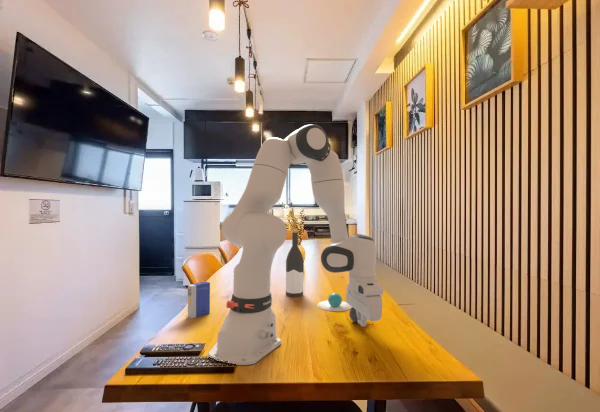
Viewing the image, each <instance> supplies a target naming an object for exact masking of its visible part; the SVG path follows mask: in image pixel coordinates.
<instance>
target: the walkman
mask: <svg viewBox="0 0 600 412" xmlns="http://www.w3.org/2000/svg"><path fill="white" fill-rule="evenodd" d="M210 306H211V283H210V282H209V281H206V280H202V281H201V282H196V283H191V284H188V285H187V317H188V318H189V319H195V318H198V317H201V316H204V315H208V314H210V313H211V311H210V309H211V308H210Z"/></svg>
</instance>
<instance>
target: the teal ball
mask: <svg viewBox="0 0 600 412" xmlns="http://www.w3.org/2000/svg"><path fill="white" fill-rule="evenodd" d="M327 300H328V302H329V304H330V305H331V306H332V307H338V306H340V305H341V303H342V301H343V298H342V296H341V295H340V294H339V293H337V292H332V293H331V294H329V296H328V298H327Z"/></svg>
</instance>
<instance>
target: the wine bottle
mask: <svg viewBox="0 0 600 412" xmlns="http://www.w3.org/2000/svg"><path fill="white" fill-rule="evenodd" d="M298 236H299V233H298V229H297V228H296V229H295V228H293V229H292V240H291V242H292V243H291V247H290V249H289V251H288V254H287V256H286V260H285V294H286V296H287V297H292V298H296V297H297V298H298V297H302V296H303V295H304V264H305V263H304V257H303V254H302V251H301V250H300V247H299V245H298V243H299V242H298V240H299V239H298V238H299V237H298Z"/></svg>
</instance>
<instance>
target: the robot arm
mask: <svg viewBox="0 0 600 412" xmlns="http://www.w3.org/2000/svg"><path fill="white" fill-rule="evenodd" d="M302 164H305V165H306V167H307V168H308V170H309V172H310V181H311V190H312V195H313V198H314V201H315V203H316V205H317V206H319V207H320V209H321V210H322V211H323V212H324V213H325V215H326V216H327V220H328V226H329V231H330V237H331V240H330V242H331V243H330V245H327V246H326V247H325V248H324V249H323V250H322V252H321V255H320V262H321V265H322V267H323V268H324V269H325V270H326V271H328V272H330V273H334V274H336V273H337V274H338V273H346V272H348V283H347V285H346V291H345V293H346V294H345V300H346V301H345V302H347V303H348V304H349V305H350V306H352V307H353V308H354V309H356V314H357V318H358V323H357V324H358V325H360V327H366V326H367V321H368V320H369V321H370V322H375V321H380V320H381V319H382V318H383V317H382V316H383V297H382V295H384V288H383V287H382V285H381V284H380V283H379V281H378V280H377V272H376V265H377V246H376V242H375V240H374V239H373V238H372V237H371V236H369V235H365V234H360V233H359V234H358V233H354V234H352V235H350V236H349V231H348V226H347V219H346V210H345V179H344V174H343V169H342V165H341V161H340V158H339V155H338V154H337V153H336V152H335V151H334V150H332V149H331V143H330V140H329V138H328V135H327V132H326V131H325V130H324V128H323V127H322V126H320V125H318V124H305V125H303V126H301V127H300V128H298V129H295V130H294V131H293V132H291V133H290V134H288V135H287V136H286V137H284V138H283V139H282V138H279V137H269V138H266V139H265V140H264V141H263V142H262V144H261V146H260V148H259V150H258V152H257V155H256V157H255V159H254V162H253V164H252V168H251V171H250V174H249V178H248V179H247V180H248V181H247V184H246V187H245V190H244V191H243V193H242V195H241V197H240V198H239V201H238V202H237V204H236V205H235V207H234V209H232V212H231V213H229V215H227V216H226V217H225V218H224V220H223V222H222V223H221V234H222V236H223V238H224V240H226V241H228V242H229V243H230V244H232V245H234V246H236V247H241V248H242V253H241V256H240V260H239V262H238V264H236V265H235V266H234V269H233V292H232V295H231V299H230V300H227V301H226V304H225V306H226V309H230V310H229V312H228V314H227V316H226V317H225V319H224V320H223V324H222V325H221V327H220V329H219V331H218V335H217V341H216V343H214V345H213V347H212V348H211V349H210V350H209V352H208V355H207V357H208V358H209V357H211V358H214V359H219V360H224V361H229V362H235V363H236V366H248V365H255V364H256V363H258V362H259V361H260V360H262V359H263V358H264V357H265V356H267V355H268V354H270V353H271V352H272V351H274V350H275V349H276V348H278V347H279V346H280V345H282V339H280V338H279V337H278V334H277V333H278V332H277V317H276V314H275V312H274V311H273V309H272V303H273V302H272V300H273V298H272V293H271V275H272V274H271V273H272V271H271V270H272V267H273V266H272V265H273V261H274V258H275V256H276V253H277V252H278V250H279V249H280V248H281V247H282V246H283V245H284V243H285V241H286V238H287V236H288V235H287V234H288V230H287V226H286V224H285V222H284V220H283V219H282V218H281V217H278V216H276V215H273V214H271V213H269V212H270V210H271V209H272V208H273V206H274V205H276V204H277V203H278V202H279V201H280V199H281V198H282V194H283V191H284V187H285V183H286V180H287V177H288V172H289V168H290V166H293V167H295V166H300V165H302Z"/></svg>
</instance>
